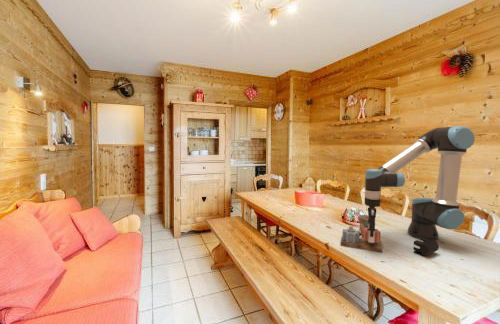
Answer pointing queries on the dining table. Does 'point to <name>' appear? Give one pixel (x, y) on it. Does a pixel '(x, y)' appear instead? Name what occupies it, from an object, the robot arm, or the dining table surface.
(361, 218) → the mug
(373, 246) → the gear board
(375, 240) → the red gear
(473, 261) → the dining table surface
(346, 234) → the gear
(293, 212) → the dining table surface
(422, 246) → the end cap
